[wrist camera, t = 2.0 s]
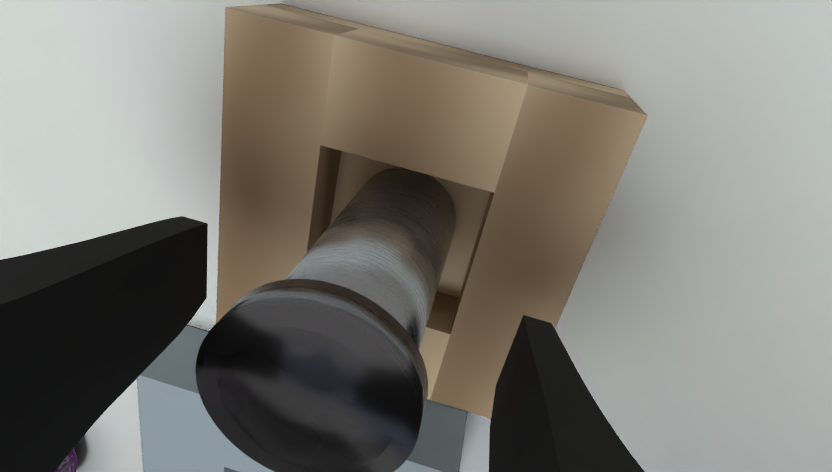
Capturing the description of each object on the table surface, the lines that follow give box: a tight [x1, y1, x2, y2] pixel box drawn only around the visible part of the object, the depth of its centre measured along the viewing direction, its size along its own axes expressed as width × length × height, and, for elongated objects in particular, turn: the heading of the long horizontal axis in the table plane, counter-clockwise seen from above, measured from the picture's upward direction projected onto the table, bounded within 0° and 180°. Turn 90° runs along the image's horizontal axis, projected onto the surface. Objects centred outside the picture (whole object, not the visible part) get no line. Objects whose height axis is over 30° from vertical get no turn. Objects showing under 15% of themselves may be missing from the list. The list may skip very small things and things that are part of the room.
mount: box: [216, 4, 647, 419], centre depth 15 cm, size 10×10×3 cm
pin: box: [195, 167, 456, 472], centre depth 12 cm, size 4×4×8 cm
